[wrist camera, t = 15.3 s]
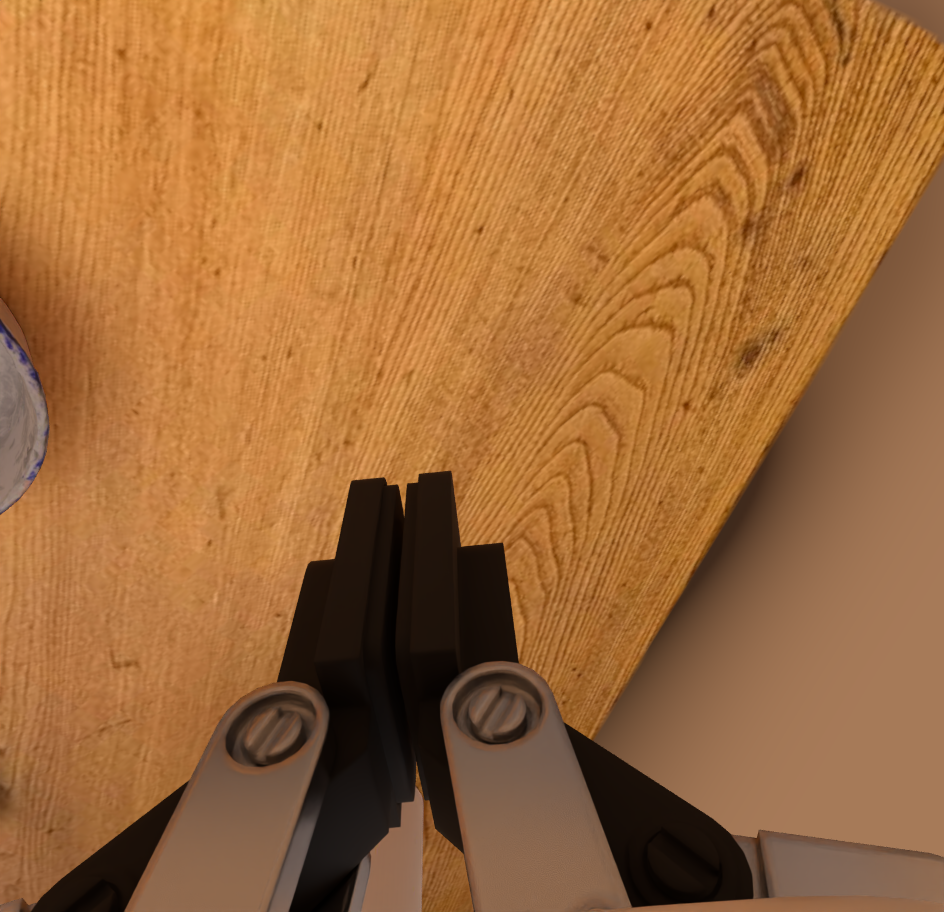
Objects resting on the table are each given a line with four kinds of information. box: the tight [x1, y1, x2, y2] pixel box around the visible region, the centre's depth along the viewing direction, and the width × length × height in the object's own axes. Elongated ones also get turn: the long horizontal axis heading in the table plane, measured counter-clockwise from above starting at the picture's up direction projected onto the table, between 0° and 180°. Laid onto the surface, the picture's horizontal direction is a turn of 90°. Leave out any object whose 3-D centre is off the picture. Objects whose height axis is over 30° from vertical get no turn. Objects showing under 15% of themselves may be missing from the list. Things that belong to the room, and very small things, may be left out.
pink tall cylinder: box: [361, 786, 423, 912], centre depth 39 cm, size 8×8×12 cm
